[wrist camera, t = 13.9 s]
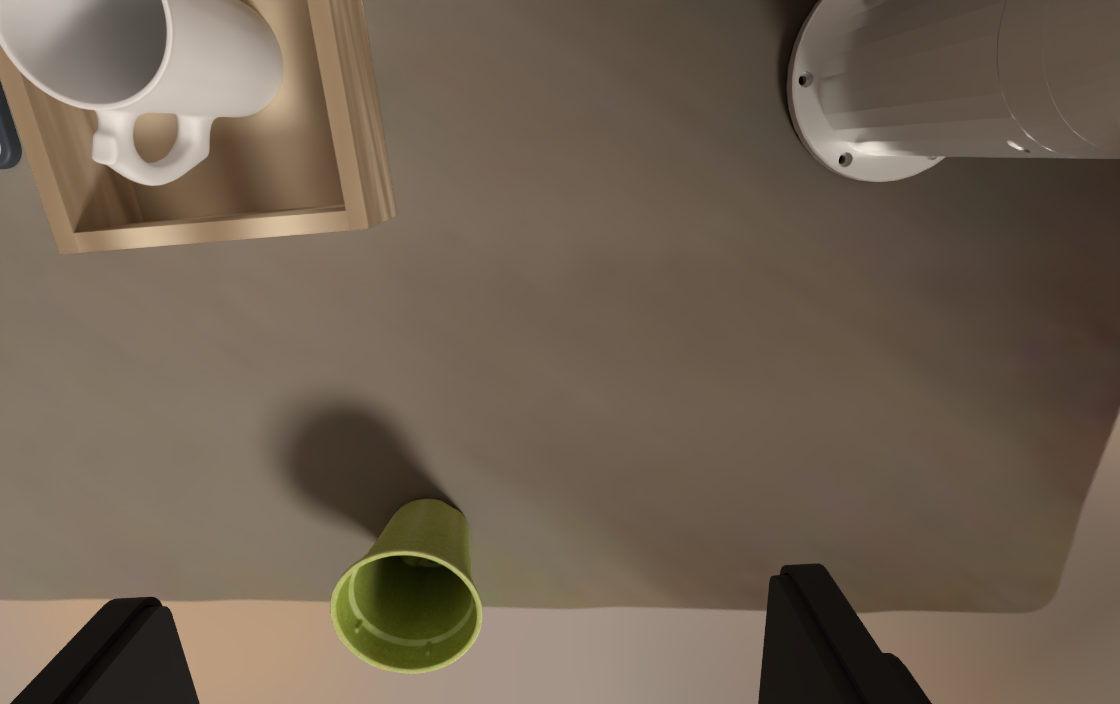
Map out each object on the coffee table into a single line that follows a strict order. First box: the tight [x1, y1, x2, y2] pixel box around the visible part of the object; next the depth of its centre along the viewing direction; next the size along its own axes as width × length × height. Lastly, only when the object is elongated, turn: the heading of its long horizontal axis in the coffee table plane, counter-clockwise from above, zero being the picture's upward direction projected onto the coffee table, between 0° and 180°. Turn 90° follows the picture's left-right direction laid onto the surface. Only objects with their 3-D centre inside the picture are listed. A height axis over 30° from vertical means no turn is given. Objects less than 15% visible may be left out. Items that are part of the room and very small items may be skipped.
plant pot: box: [330, 499, 482, 674], centre depth 42 cm, size 9×9×9 cm
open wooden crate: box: [0, 0, 396, 254], centre depth 32 cm, size 16×16×7 cm
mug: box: [0, 0, 283, 186], centre depth 29 cm, size 10×7×12 cm, turn 167°
